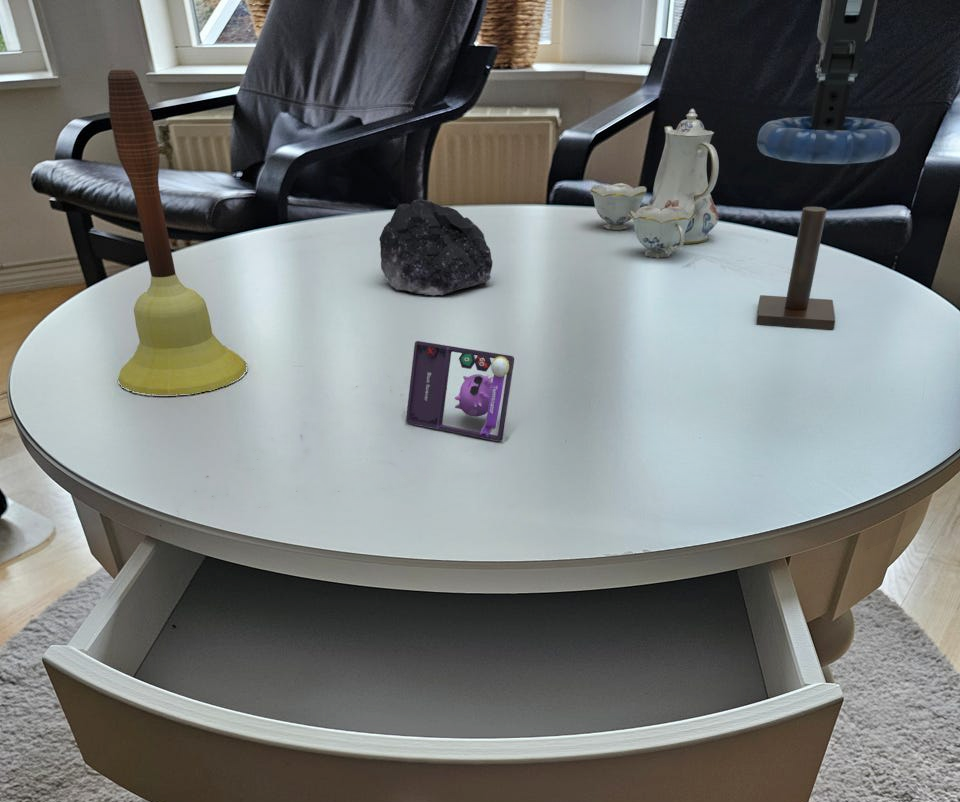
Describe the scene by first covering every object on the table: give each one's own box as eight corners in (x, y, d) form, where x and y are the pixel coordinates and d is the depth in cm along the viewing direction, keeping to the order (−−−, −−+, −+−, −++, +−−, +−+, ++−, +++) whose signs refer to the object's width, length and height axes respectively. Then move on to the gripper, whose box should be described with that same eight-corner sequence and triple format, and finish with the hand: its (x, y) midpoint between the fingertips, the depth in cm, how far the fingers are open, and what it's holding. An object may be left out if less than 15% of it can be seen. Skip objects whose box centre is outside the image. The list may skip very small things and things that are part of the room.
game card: (410, 340, 74) (509, 355, 71) (440, 343, 79) (534, 358, 76) (401, 422, 77) (496, 441, 73) (430, 421, 81) (521, 439, 78)
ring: (888, 146, 68) (895, 115, 67) (901, 167, 61) (909, 133, 59) (756, 143, 70) (761, 114, 69) (753, 164, 63) (758, 131, 62)
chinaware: (571, 233, 141) (566, 112, 131) (669, 214, 144) (671, 94, 134) (651, 278, 120) (652, 137, 109) (764, 254, 123) (775, 115, 112)
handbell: (114, 361, 91) (41, 68, 76) (238, 346, 94) (191, 62, 80) (120, 404, 81) (38, 79, 67) (258, 386, 85) (208, 72, 70)
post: (830, 308, 103) (853, 203, 96) (833, 329, 97) (857, 218, 90) (758, 303, 105) (775, 199, 98) (756, 324, 98) (774, 214, 92)
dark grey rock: (507, 296, 111) (512, 206, 106) (401, 299, 106) (401, 205, 101) (467, 279, 121) (470, 196, 116) (370, 281, 117) (368, 195, 112)
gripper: (959, -187, 52) (884, 154, 62) (929, -159, 62) (869, 128, 73) (822, -179, 53) (771, 152, 63) (815, -153, 64) (772, 126, 74)
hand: (823, 138), depth 68 cm, fingers closed on ring, 2 cm apart
